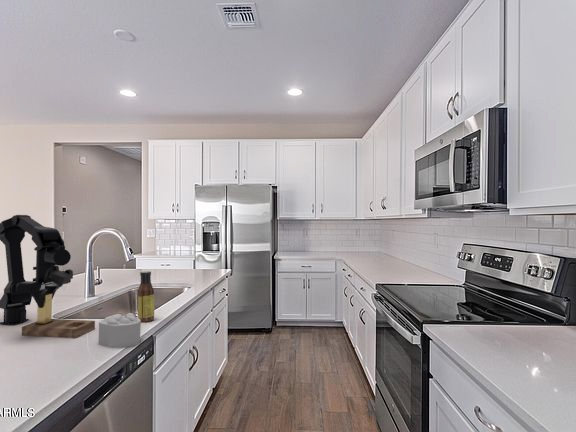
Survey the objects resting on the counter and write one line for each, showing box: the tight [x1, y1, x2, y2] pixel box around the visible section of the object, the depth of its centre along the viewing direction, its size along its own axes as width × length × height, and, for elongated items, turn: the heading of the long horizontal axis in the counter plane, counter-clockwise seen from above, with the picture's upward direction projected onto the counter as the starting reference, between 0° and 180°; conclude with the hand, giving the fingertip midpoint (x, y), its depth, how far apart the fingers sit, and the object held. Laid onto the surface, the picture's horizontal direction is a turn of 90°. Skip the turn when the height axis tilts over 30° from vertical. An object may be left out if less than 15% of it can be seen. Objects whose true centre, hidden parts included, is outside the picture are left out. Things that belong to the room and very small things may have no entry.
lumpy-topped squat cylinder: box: [98, 312, 142, 349], centre depth 115 cm, size 10×13×9 cm
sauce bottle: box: [137, 270, 155, 323], centre depth 139 cm, size 6×6×20 cm
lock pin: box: [36, 293, 53, 323], centre depth 123 cm, size 3×3×10 cm
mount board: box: [21, 318, 96, 339], centre depth 123 cm, size 20×10×3 cm, turn 85°
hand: (44, 306), depth 123 cm, fingers closed on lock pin, 3 cm apart
